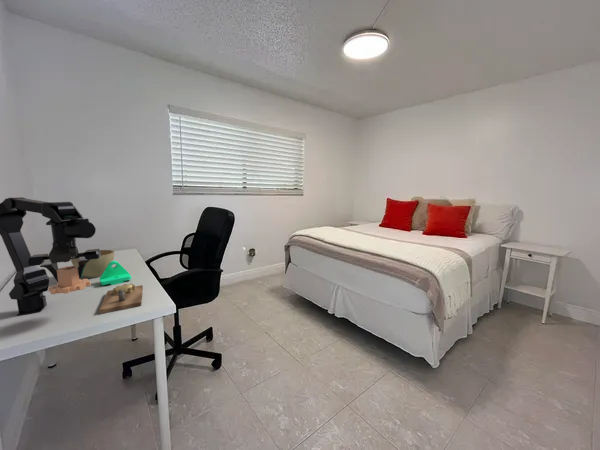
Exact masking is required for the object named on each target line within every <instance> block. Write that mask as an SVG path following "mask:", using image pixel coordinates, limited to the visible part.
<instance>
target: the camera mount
mask: <svg viewBox="0 0 600 450" xmlns="http://www.w3.org/2000/svg"><path fill="white" fill-rule="evenodd" d="M113 265H115V266H113ZM130 280H132V275H131V274H130V272H129V271H128V270H127V269H125V268H124V266H123V265H121V263H119V262H118V261H117V260H113V261H111V262H110V263H109V264H108V266H107V267H106V269H105V270H104V272H103V274H102V275H101V276H99V283H100V285H101V286H105V285H109V284H110V285H111V286H113V285H114V286H115V285H120V284H123V283H124V282H126V281H130Z"/></svg>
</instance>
